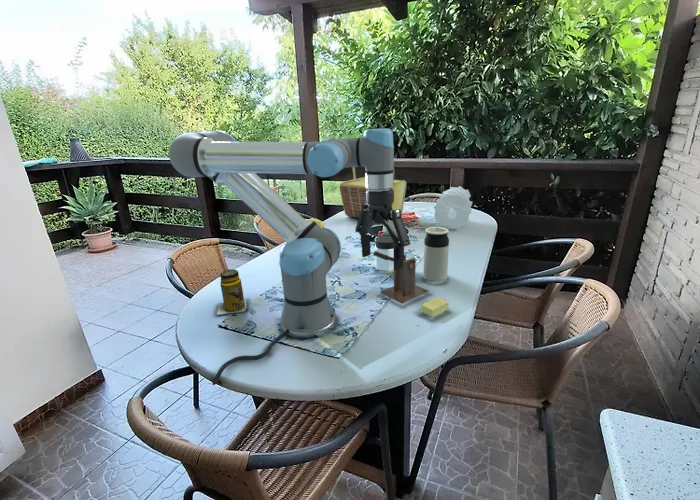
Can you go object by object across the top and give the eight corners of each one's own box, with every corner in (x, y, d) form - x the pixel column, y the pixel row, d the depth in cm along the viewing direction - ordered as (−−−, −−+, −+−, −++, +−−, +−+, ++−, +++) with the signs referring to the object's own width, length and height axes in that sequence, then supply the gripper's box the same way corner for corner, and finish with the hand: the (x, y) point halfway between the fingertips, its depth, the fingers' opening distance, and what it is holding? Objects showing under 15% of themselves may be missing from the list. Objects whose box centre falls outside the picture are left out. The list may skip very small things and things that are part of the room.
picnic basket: (408, 216, 206) (408, 161, 196) (379, 226, 189) (378, 167, 179) (368, 209, 225) (367, 159, 215) (339, 218, 208) (336, 164, 198)
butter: (432, 321, 101) (432, 310, 100) (421, 315, 104) (421, 304, 103) (448, 312, 105) (448, 301, 104) (437, 307, 108) (437, 296, 107)
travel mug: (445, 286, 121) (448, 234, 115) (421, 283, 124) (422, 232, 118) (448, 276, 128) (450, 227, 122) (425, 274, 131) (426, 225, 125)
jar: (383, 276, 131) (383, 244, 126) (370, 269, 137) (369, 239, 133) (403, 270, 135) (403, 239, 131) (389, 263, 142) (388, 234, 137)
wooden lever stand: (402, 307, 109) (402, 267, 105) (379, 295, 117) (379, 258, 112) (429, 294, 116) (430, 257, 111) (406, 284, 123) (406, 249, 119)
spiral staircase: (441, 238, 180) (446, 221, 202) (476, 225, 172) (477, 209, 194) (426, 205, 176) (432, 192, 198) (461, 190, 168) (464, 178, 190)
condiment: (245, 311, 111) (239, 275, 107) (216, 315, 109) (209, 279, 105) (246, 300, 118) (241, 266, 114) (219, 304, 116) (212, 269, 112)
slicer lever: (383, 261, 103) (386, 253, 103) (372, 256, 107) (374, 248, 107) (412, 270, 111) (414, 262, 111) (400, 265, 115) (402, 258, 115)
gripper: (424, 192, 91) (423, 270, 99) (361, 182, 110) (364, 248, 117) (403, 197, 87) (403, 278, 94) (341, 185, 106) (345, 254, 113)
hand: (381, 261), depth 106 cm, fingers open, 13 cm apart
